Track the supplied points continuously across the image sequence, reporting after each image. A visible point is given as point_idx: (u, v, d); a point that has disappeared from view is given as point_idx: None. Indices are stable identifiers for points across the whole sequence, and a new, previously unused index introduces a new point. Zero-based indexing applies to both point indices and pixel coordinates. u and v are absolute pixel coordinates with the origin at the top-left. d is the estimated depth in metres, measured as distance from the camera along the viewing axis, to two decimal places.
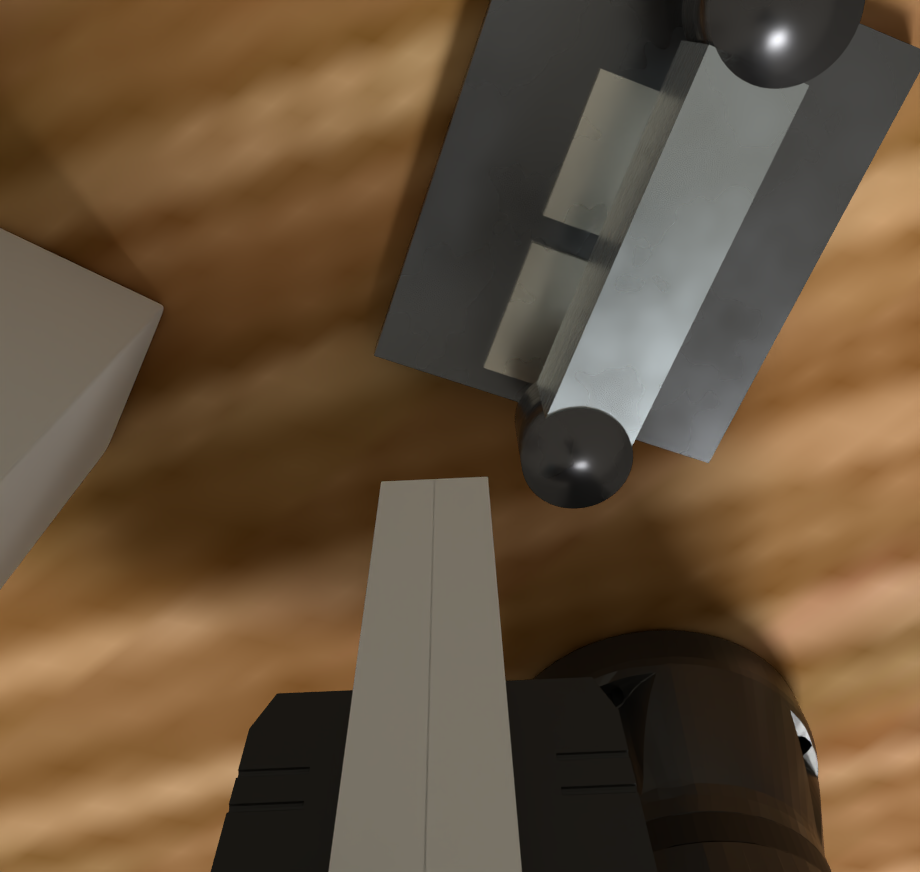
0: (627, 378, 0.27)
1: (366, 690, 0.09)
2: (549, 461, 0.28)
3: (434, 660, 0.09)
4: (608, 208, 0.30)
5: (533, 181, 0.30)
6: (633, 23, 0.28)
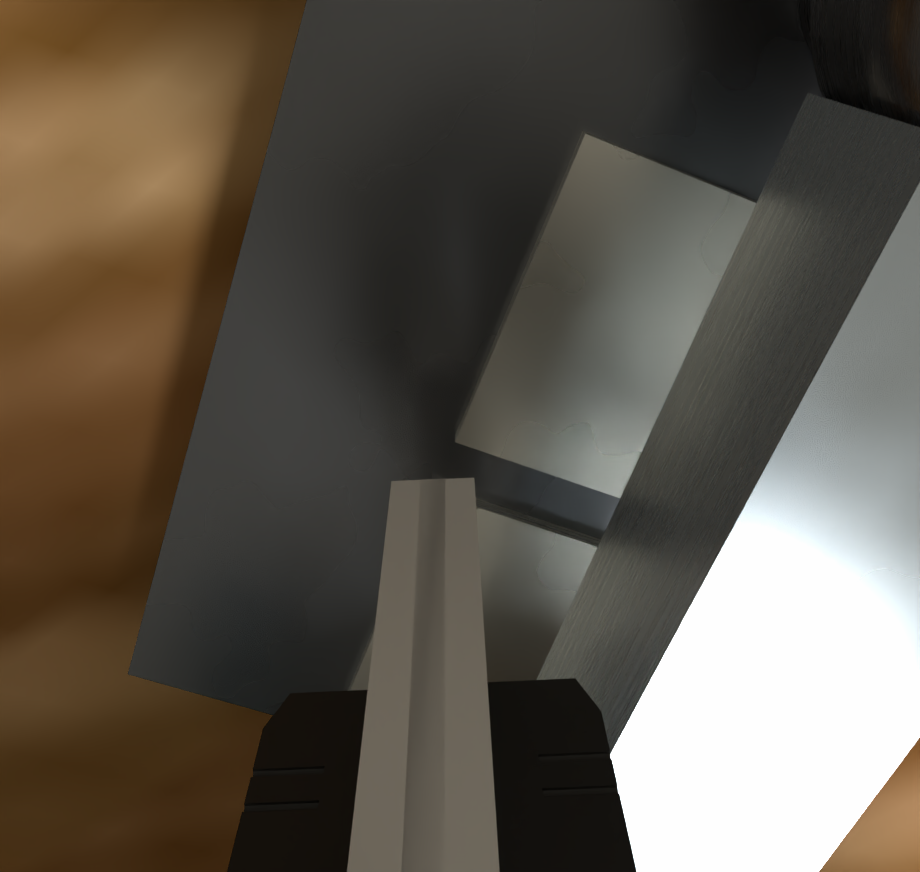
0: None
1: (380, 689, 0.09)
2: None
3: (417, 662, 0.09)
4: (599, 431, 0.14)
5: (433, 371, 0.14)
6: (668, 26, 0.11)
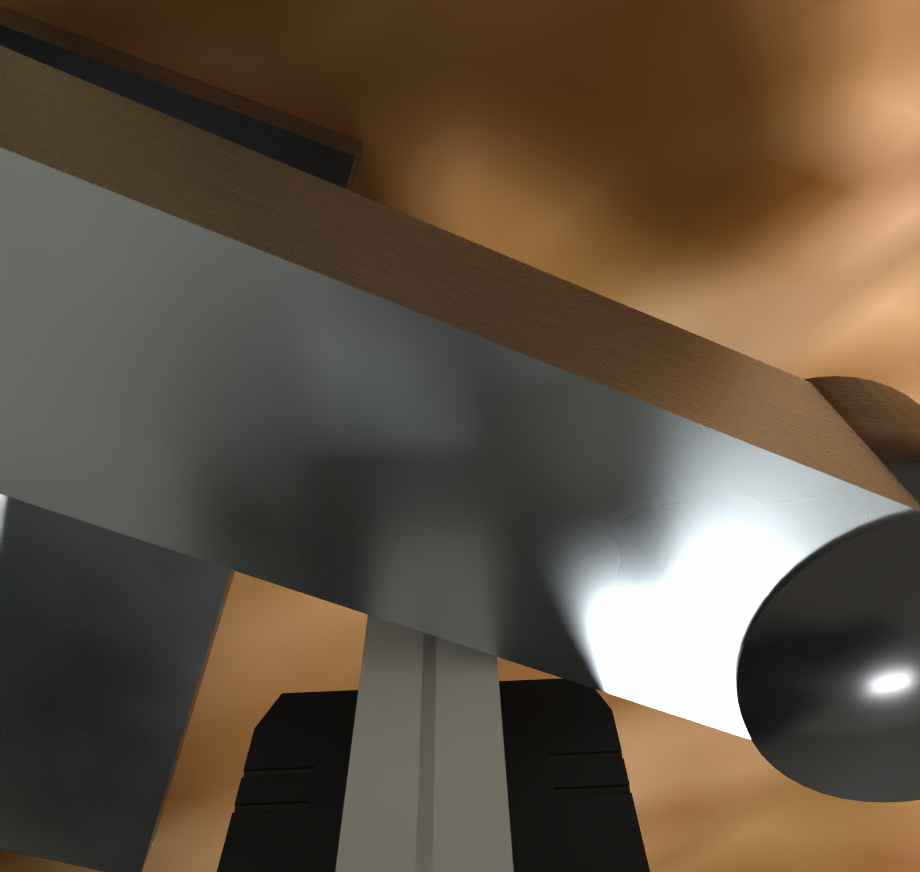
0: (659, 532, 0.08)
1: (372, 690, 0.09)
2: (901, 740, 0.09)
3: (428, 661, 0.09)
4: None
5: None
6: None
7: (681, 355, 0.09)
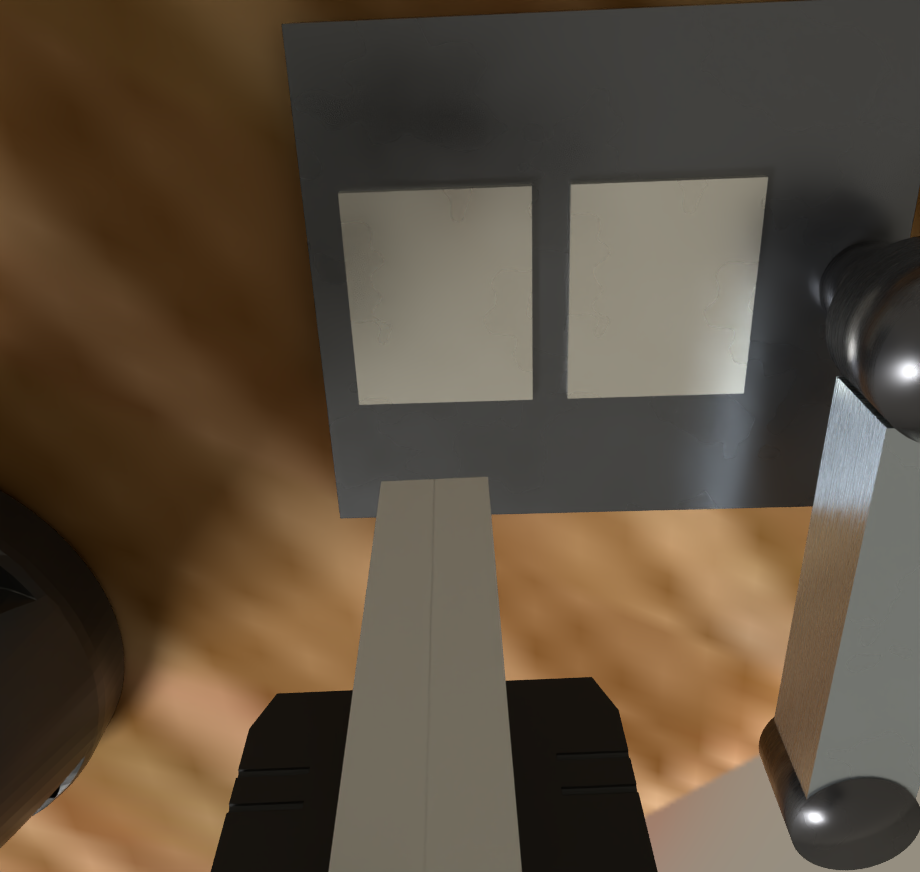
0: (890, 742, 0.23)
1: (366, 690, 0.09)
2: (824, 835, 0.25)
3: (434, 660, 0.09)
4: (606, 262, 0.23)
5: (605, 153, 0.22)
6: (823, 192, 0.23)
7: None
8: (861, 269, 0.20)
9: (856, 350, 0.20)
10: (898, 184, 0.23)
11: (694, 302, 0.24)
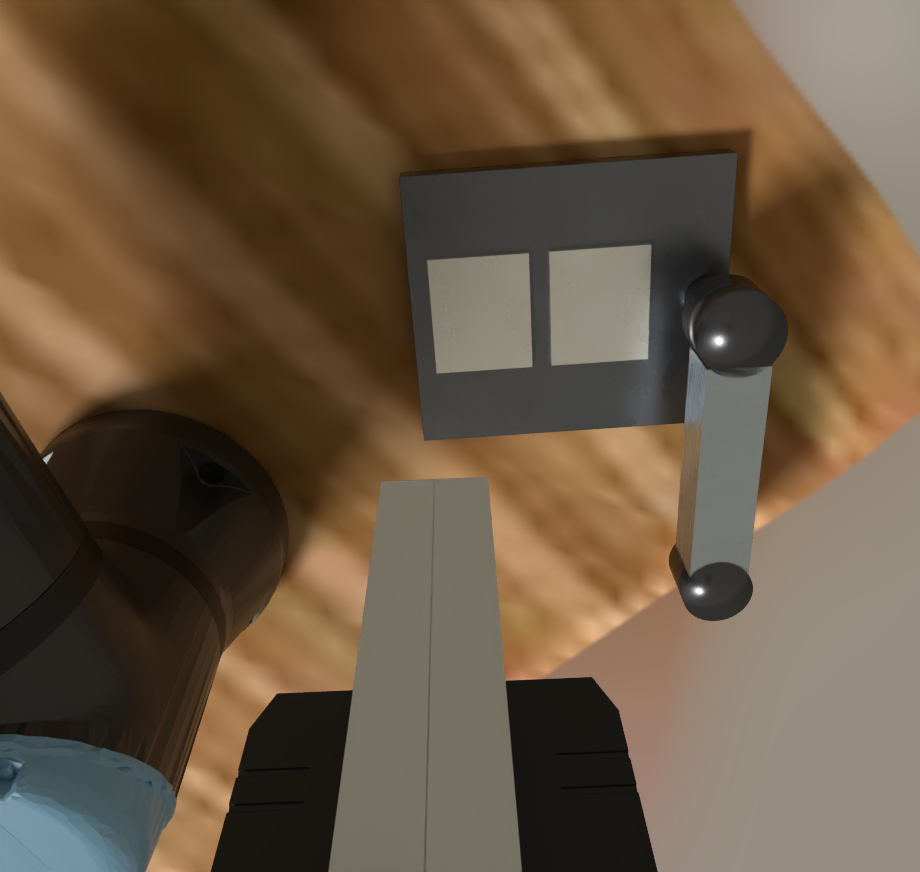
0: (730, 540, 0.44)
1: (366, 690, 0.09)
2: (701, 598, 0.46)
3: (434, 660, 0.09)
4: (570, 290, 0.44)
5: (566, 234, 0.43)
6: (681, 251, 0.43)
7: None
8: (695, 292, 0.41)
9: (692, 332, 0.40)
10: (719, 245, 0.43)
11: (617, 310, 0.44)
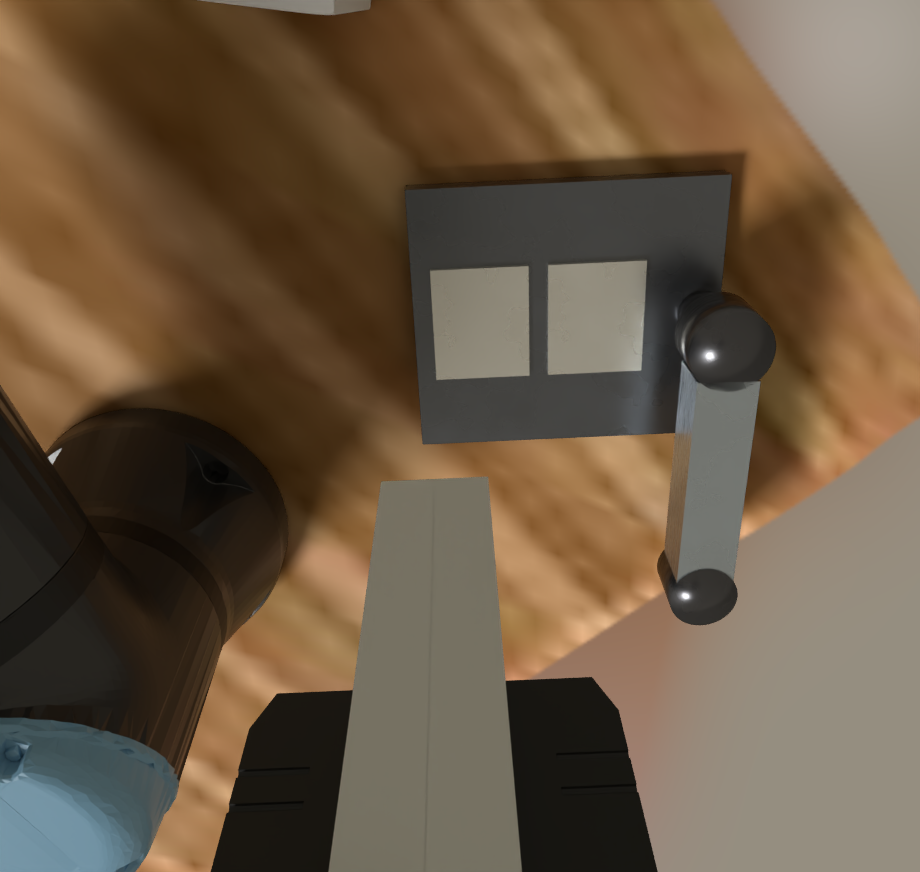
0: (716, 548, 0.46)
1: (366, 690, 0.09)
2: (687, 603, 0.47)
3: (434, 660, 0.09)
4: (567, 303, 0.45)
5: (565, 249, 0.44)
6: (676, 267, 0.45)
7: None
8: (688, 308, 0.43)
9: (683, 347, 0.42)
10: (713, 262, 0.45)
11: (613, 323, 0.46)
